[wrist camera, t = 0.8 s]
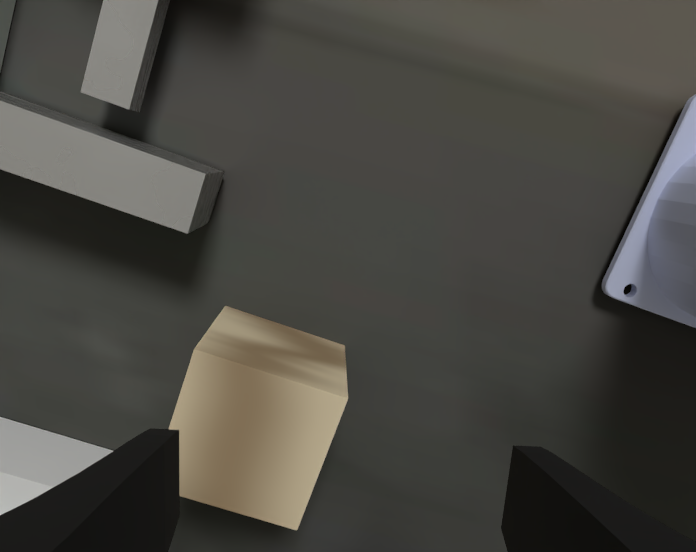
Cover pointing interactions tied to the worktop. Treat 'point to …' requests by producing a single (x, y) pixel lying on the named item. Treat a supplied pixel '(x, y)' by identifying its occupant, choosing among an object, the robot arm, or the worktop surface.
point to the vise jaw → (111, 132)
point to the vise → (30, 442)
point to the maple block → (258, 416)
